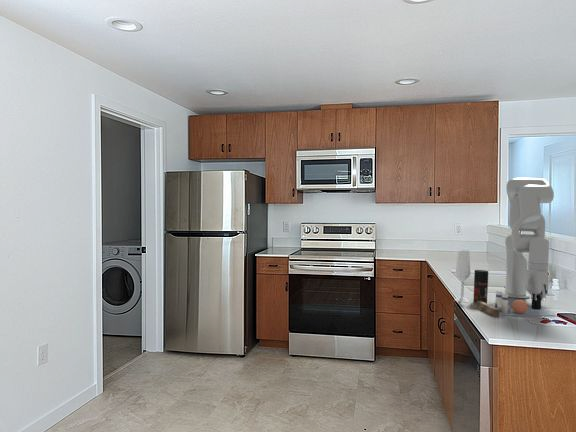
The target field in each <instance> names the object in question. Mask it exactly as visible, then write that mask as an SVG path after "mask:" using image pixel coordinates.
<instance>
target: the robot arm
mask: <svg viewBox="0 0 576 432" xmlns="http://www.w3.org/2000/svg"><path fill="white" fill-rule="evenodd" d="M553 189H554V188H553V187H552V185H551V184H550V183H549V181H548V180H546V179H545V178H540V177H538V178H537V177H515V178H511V179H509V180H508V181H507V183H506V194H507V197H508V200H509V219H508V220H509V223H508V224H509V227H510V230H511V234H508V235H507V236H506V237H505V251H506V252H505V253H506V266H505V267H506V268H505V285H504V286H503V288H504V290H505V291H502V293H507V294H508V298H514V299H516V298H517V299H528V298H531V309H534V310H542V301H543V299H545V298H546V297H547V296H546V295H547V294H548V293H549V273H548V271H549V255H550V252H549V251H550V241H549V239H547V238H545V236H546V220H545V217H544V215H543V214H542V209H541V204H551V203H553V200H554V197H555V194H554V190H553ZM520 232H527V233H528V234H527V233H520ZM529 232H531V233H532V234H530V233H529ZM523 254H528V258H527V259H528V260H527V259H526V257H525V256H524V255H523ZM527 292H528V293H527Z"/></svg>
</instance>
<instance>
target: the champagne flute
mask: <svg viewBox="0 0 576 432" xmlns="http://www.w3.org/2000/svg"><path fill="white" fill-rule="evenodd" d="M457 252H458V253H457V258H456V266H455V275H456V277H457V278H458V279H459V280H460V281H461V284H460V296H459V297H457V298H455V299H454V301H456V302H461V303H469V302H470V300H469V299H467V298H466V297H465V296H464V293H465V292H464V289H465V281H466V280H467V279H469V277H470V276H471V259H470V258H471V257H470V250H468V249H467V250H465V249H458V251H457Z"/></svg>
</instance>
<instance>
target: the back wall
mask: <svg viewBox="0 0 576 432" xmlns="http://www.w3.org/2000/svg"><path fill="white" fill-rule="evenodd" d="M489 304H490V303H489ZM489 304H488V302H487V303H485V302H482V301H477V303H476V307H475V308H477V309H478V310H480V309H481V310H480V311H482V310H483V311H482V312H484V311H485V312H484V313H486V314H488V315H491V316H493V317H495V318H497V317H500V315H499V309H497V308H495V307H493V306H491V305H489Z"/></svg>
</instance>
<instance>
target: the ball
mask: <svg viewBox="0 0 576 432" xmlns="http://www.w3.org/2000/svg"><path fill="white" fill-rule="evenodd" d="M511 309H513V311H514V312H516V313H518V314H523V313H525V312H526V311H527V309H529V306H528V303H527V302H526V301H525V300H522V299H515V300H514V301H513V302H512V304H511Z"/></svg>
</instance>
